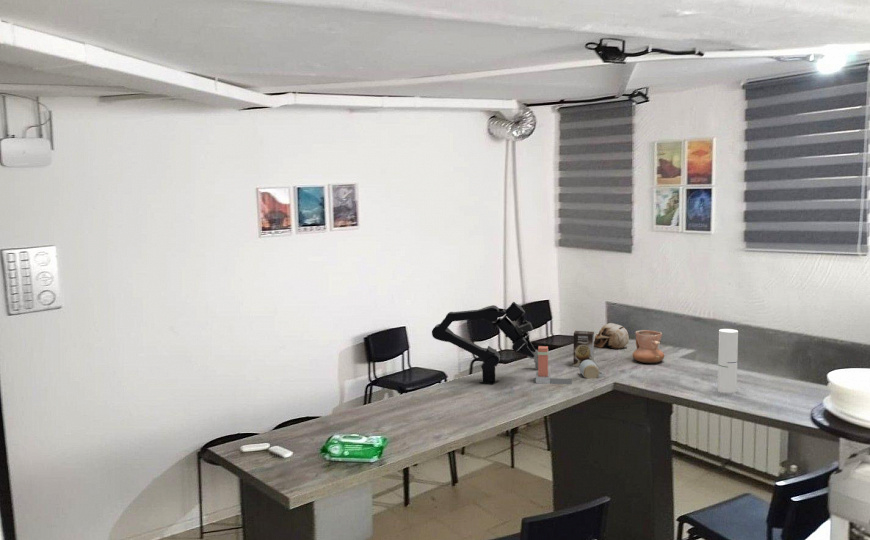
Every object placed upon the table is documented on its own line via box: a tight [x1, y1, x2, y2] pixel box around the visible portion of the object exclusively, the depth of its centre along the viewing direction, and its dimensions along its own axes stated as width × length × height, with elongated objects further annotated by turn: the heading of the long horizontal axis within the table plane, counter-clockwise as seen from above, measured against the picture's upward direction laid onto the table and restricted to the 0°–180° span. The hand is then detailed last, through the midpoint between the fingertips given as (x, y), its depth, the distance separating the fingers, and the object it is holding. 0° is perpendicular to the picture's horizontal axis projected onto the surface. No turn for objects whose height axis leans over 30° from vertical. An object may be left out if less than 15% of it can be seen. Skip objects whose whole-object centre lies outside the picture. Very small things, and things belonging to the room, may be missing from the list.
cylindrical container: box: [717, 328, 739, 394], centre depth 288 cm, size 7×7×25 cm
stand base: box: [533, 371, 573, 385], centre depth 306 cm, size 16×8×4 cm, turn 79°
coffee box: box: [572, 330, 595, 368], centre depth 333 cm, size 9×6×16 cm
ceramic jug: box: [632, 329, 665, 364], centre depth 338 cm, size 18×14×14 cm
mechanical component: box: [527, 349, 538, 371], centre depth 325 cm, size 3×10×10 cm, turn 53°
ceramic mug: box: [578, 360, 606, 379], centre depth 312 cm, size 11×8×8 cm
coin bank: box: [594, 322, 630, 350], centre depth 369 cm, size 16×17×13 cm
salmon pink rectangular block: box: [537, 345, 549, 376], centre depth 306 cm, size 4×4×12 cm
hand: (534, 354), depth 306 cm, fingers open, 9 cm apart
